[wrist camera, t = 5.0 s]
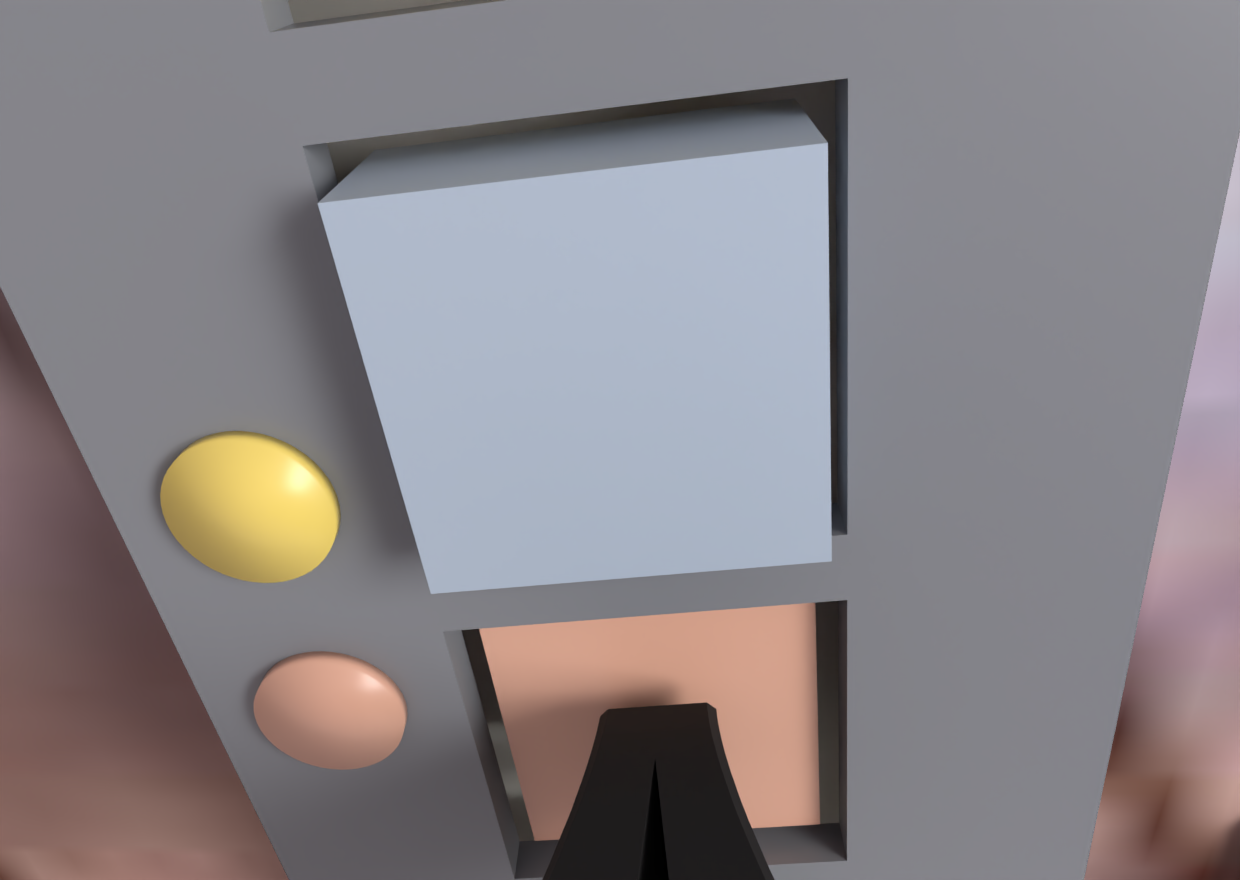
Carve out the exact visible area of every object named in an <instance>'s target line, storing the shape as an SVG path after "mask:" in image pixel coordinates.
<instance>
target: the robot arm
mask: <svg viewBox="0 0 1240 880" xmlns="http://www.w3.org/2000/svg"><path fill="white" fill-rule="evenodd" d="M542 880H775V879H774V877H773V875H772V873H771V871H770V869H769V866H768V864H767V862H766V860H765V857H764V855H763V853H762V850H761V848H760V846H759V843H758V841H757V839H756V836H755V834H754V832H753V829H752V827H751V825H750V822H749V820H748V817H747V815H746V812H745V810H744V807H743V805H742V802H741V799H740V797H739V794H738V791H737V788H736V785H735V782H734V779H733V776H732V774H731V771H730V767H729V764H728V761H727V758H726V754H725V751H724V747H723V743H722V739H721V734H720V730H719V725H718V719H717V711H716V708H714V707H713V706H711V705H710V704H708V703H707V702H705V703H690V704H675V705H660V706H645V707H631V708H616V709H608V710H607V711H605V712H604V713H603V714H602V715H601V716H600V719H599V724H598V728H597V732H596V736H595V740H594V743H593V747H592V750H591V754H590V757H589V760H588V764H587V767H586V770H585V773H584V776H583V779H582V782H581V784H580V787H579V790H578V793H577V795H576V798H575V801H574V804H573V807H572V809H571V812H570V814H569V817H568V819H567V822H566V824H565V827H564V829H563V832H562V834H561V836H560V839H559V841H558V844H557V846H556V849H555V851H554V854H553V856H552V858H551V861H550V863H549V866H548V868H547V870H546V873H545V875H544V877H543V879H542Z"/></svg>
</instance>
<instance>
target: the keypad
mask: <svg viewBox="0 0 1240 880" xmlns="http://www.w3.org/2000/svg"><path fill="white" fill-rule="evenodd" d="M793 98H795V99H796V101H797V102H798V103H799V105H800V106H801V107H802V109H803V110H804V111H805V113H806V114H807V115H808V117H809V118H810V119H811V121H812V122H813V123H814V125H815V126H816V128H817V129H818V130H819V132H820V133H821V134H822V136H823V137H824V138H825V140H826V141H827V142H828V214H829V320H830V426H831V532H832V561H830V562H817V563H805V564H793V565H781V566H768V567H756V568H744V569H731V570H719V571H707V572H695V573H682V574H670V575H658V576H645V577H633V578H621V579H609V580H596V581H584V582H572V583H559V584H547V585H535V586H523V587H510V588H498V589H486V590H474V591H461V592H449V593H437V594H431V592H430V589H429V586H428V582H427V579H426V575H425V572H424V568H423V565H422V561H421V558H420V555H419V551H418V548H417V544H416V541H415V537H414V534H413V530H412V527H411V524H410V520H409V517H408V513H407V510H406V506H405V503H404V499H403V496H402V493H401V489H400V486H399V482H398V479H397V475H396V472H395V468H394V465H393V462H392V458H391V455H390V451H389V448H388V444H387V441H386V437H385V434H384V431H383V427H382V424H381V420H380V417H379V413H378V410H377V406H376V403H375V400H374V396H373V393H372V389H371V386H370V382H369V379H368V375H367V372H366V369H365V365H364V362H363V358H362V355H361V351H360V348H359V344H358V341H357V338H356V334H355V331H354V327H353V324H352V320H351V317H350V313H349V310H348V307H347V303H346V300H345V296H344V293H343V289H342V286H341V282H340V279H339V275H338V272H337V269H336V265H335V262H334V258H333V255H332V251H331V248H330V244H329V241H328V238H327V234H326V231H325V227H324V224H323V220H322V217H321V213H320V210H319V207H318V202H319V201H321V200H322V199H323V198H324V197H325V196H326V195H327V194H328V193H329V192H330V191H331V190H332V189H333V188H335V187H336V186H337V185H338V184H339V183H340V182H341V181H342V180H343V179H344V178H345V177H346V176H347V175H348V174H350V173H351V172H352V171H353V170H354V169H355V168H356V167H357V166H358V165H359V164H360V163H361V162H362V161H364V160H365V159H366V158H367V157H368V156H369V155H370V154H371V153H372V152H373V151H374V150H378V149H386V148H394V147H402V146H410V145H418V144H427V143H435V142H443V141H451V140H459V139H467V138H475V137H484V136H492V135H500V134H508V133H516V132H524V131H532V130H541V129H549V128H557V127H565V126H573V125H581V124H589V123H598V122H606V121H614V120H622V119H630V118H638V117H646V116H654V115H663V114H671V113H679V112H687V111H695V110H703V109H711V108H720V107H728V106H736V105H744V104H752V103H760V102H768V101H777V100H785V99H793ZM1239 133H1240V0H0V287H1V289H2V291H3V294H4V296H5V298H6V300H7V302H8V304H9V306H10V308H11V310H12V312H13V314H14V316H15V318H16V320H17V322H18V324H19V326H20V328H21V330H22V333H23V335H24V337H25V339H26V341H27V343H28V345H29V347H30V349H31V351H32V353H33V355H34V357H35V359H36V361H37V363H38V365H39V367H40V369H41V372H42V374H43V376H44V378H45V380H46V382H47V384H48V386H49V388H50V390H51V392H52V394H53V396H54V398H55V400H56V402H57V404H58V406H59V409H60V411H61V413H62V415H63V417H64V419H65V421H66V423H67V425H68V427H69V429H70V431H71V433H72V435H73V437H74V439H75V441H76V443H77V445H78V448H79V450H80V452H81V454H82V456H83V458H84V460H85V462H86V464H87V466H88V468H89V470H90V472H91V474H92V476H93V478H94V480H95V482H96V484H97V487H98V489H99V491H100V493H101V495H102V497H103V499H104V501H105V503H106V505H107V507H108V509H109V511H110V513H111V515H112V517H113V519H114V521H115V523H116V526H117V528H118V530H119V532H120V534H121V536H122V538H123V540H124V542H125V544H126V546H127V548H128V550H129V552H130V554H131V556H132V558H133V560H134V562H135V565H136V567H137V569H138V571H139V573H140V575H141V577H142V579H143V581H144V583H145V585H146V587H147V589H148V591H149V593H150V595H151V597H152V599H153V601H154V604H155V606H156V608H157V610H158V612H159V614H160V616H161V618H162V620H163V622H164V624H165V626H166V628H167V630H168V632H169V634H170V636H171V638H172V641H173V643H174V645H175V647H176V649H177V651H178V653H179V655H180V657H181V659H182V661H183V663H184V665H185V667H186V669H187V671H188V673H189V675H190V677H191V680H192V682H193V684H194V686H195V688H196V690H197V692H198V694H199V696H200V698H201V700H202V702H203V704H204V706H205V708H206V710H207V712H208V714H209V716H210V719H211V721H212V723H213V725H214V727H215V729H216V731H217V733H218V735H219V737H220V739H221V741H222V743H223V745H224V747H225V749H226V751H227V753H228V755H229V758H230V760H231V762H232V764H233V766H234V768H235V770H236V772H237V774H238V776H239V778H240V780H241V782H242V784H243V786H244V788H245V790H246V792H247V794H248V797H249V799H250V801H251V803H252V805H253V807H254V809H255V811H256V813H257V815H258V817H259V819H260V821H261V823H262V825H263V827H264V829H265V831H266V834H267V836H268V838H269V840H270V842H271V844H272V846H273V848H274V850H275V852H276V854H277V856H278V858H279V860H280V862H281V864H282V866H283V868H284V870H285V873H286V875H287V877H288V879H289V880H542V879H543V877H544V875H545V873H546V870H547V868H548V866H549V863H550V861H551V858H552V856H553V854H554V851H555V849H556V846H557V844H558V841H559V840H541V841H535V840H534V836H533V832H532V828H531V825H530V821H529V817H528V813H527V809H526V806H525V802H524V798H523V794H522V790H521V787H520V783H519V779H518V775H517V771H516V768H515V764H514V760H513V756H512V752H511V749H510V745H509V741H508V737H507V733H506V730H505V726H504V722H503V718H502V714H501V711H500V707H499V703H498V699H497V695H496V692H495V688H494V684H493V680H492V676H491V673H490V669H489V665H488V661H487V657H486V654H485V650H484V646H483V642H482V638H481V635H480V631H479V629H482V628H495V627H507V626H520V625H533V624H546V623H559V622H572V621H584V620H597V619H610V618H623V617H636V616H649V615H661V614H674V613H687V612H700V611H713V610H726V609H739V608H751V607H764V606H777V605H790V604H803V603H815V610H816V656H817V703H818V750H819V797H820V824H816V825H799V826H782V827H765V828H752V829H753V832H754V834H755V836H756V839H757V841H758V843H759V846H760V848H761V850H762V853H763V855H764V857H765V860H766V862H767V864H768V866H769V869H770V871H771V873H772V875H773V877H774V879H775V880H1084V876H1085V872H1086V867H1087V862H1088V857H1089V852H1090V848H1091V843H1092V838H1093V833H1094V828H1095V824H1096V819H1097V814H1098V809H1099V804H1100V800H1101V795H1102V790H1103V785H1104V781H1105V776H1106V771H1107V766H1108V761H1109V757H1110V752H1111V747H1112V742H1113V737H1114V733H1115V728H1116V723H1117V718H1118V713H1119V709H1120V704H1121V699H1122V694H1123V689H1124V685H1125V680H1126V675H1127V670H1128V665H1129V661H1130V656H1131V651H1132V646H1133V641H1134V637H1135V632H1136V627H1137V622H1138V617H1139V613H1140V608H1141V603H1142V598H1143V593H1144V589H1145V584H1146V579H1147V574H1148V569H1149V565H1150V560H1151V555H1152V550H1153V545H1154V541H1155V536H1156V531H1157V526H1158V522H1159V517H1160V512H1161V507H1162V502H1163V498H1164V493H1165V488H1166V483H1167V478H1168V474H1169V469H1170V464H1171V459H1172V454H1173V450H1174V445H1175V440H1176V435H1177V430H1178V426H1179V421H1180V416H1181V411H1182V406H1183V402H1184V397H1185V392H1186V387H1187V382H1188V378H1189V373H1190V368H1191V363H1192V358H1193V354H1194V349H1195V344H1196V339H1197V334H1198V330H1199V325H1200V320H1201V315H1202V310H1203V306H1204V301H1205V296H1206V291H1207V286H1208V282H1209V277H1210V272H1211V267H1212V262H1213V258H1214V253H1215V248H1216V243H1217V239H1218V234H1219V229H1220V224H1221V219H1222V215H1223V210H1224V205H1225V200H1226V195H1227V191H1228V186H1229V181H1230V176H1231V171H1232V167H1233V162H1234V157H1235V152H1236V147H1237V143H1238V138H1239Z"/></svg>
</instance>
